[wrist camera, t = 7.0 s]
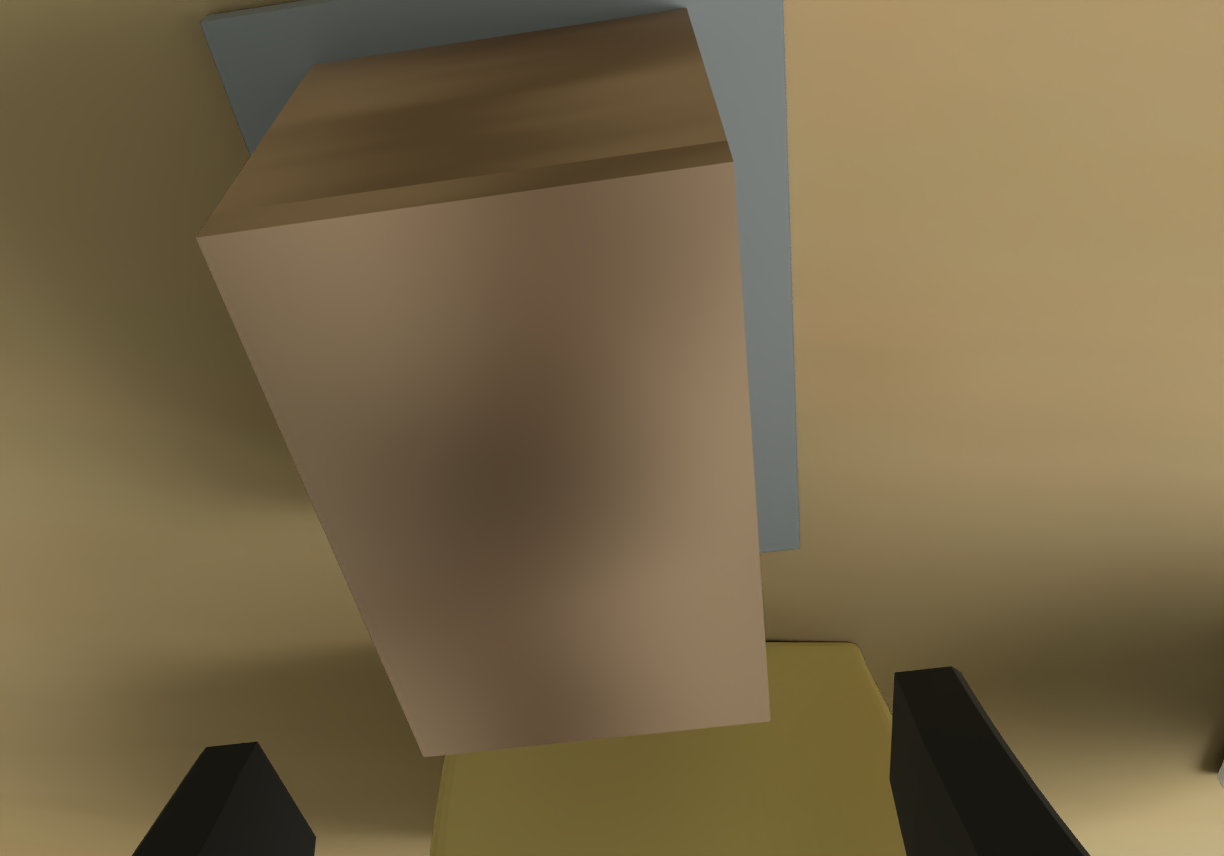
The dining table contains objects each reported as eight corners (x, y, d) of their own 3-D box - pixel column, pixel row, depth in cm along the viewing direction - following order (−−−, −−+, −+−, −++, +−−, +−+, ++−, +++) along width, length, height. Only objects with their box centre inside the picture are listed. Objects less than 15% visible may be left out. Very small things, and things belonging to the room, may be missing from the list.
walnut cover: (686, 8, 15) (734, 161, 11) (728, 487, 21) (770, 721, 17) (312, 65, 16) (196, 237, 11) (458, 519, 22) (423, 757, 17)
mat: (776, -74, 15) (781, -68, 15) (796, 536, 23) (800, 548, 23) (207, 15, 16) (199, 22, 15) (418, 580, 24) (416, 593, 23)
